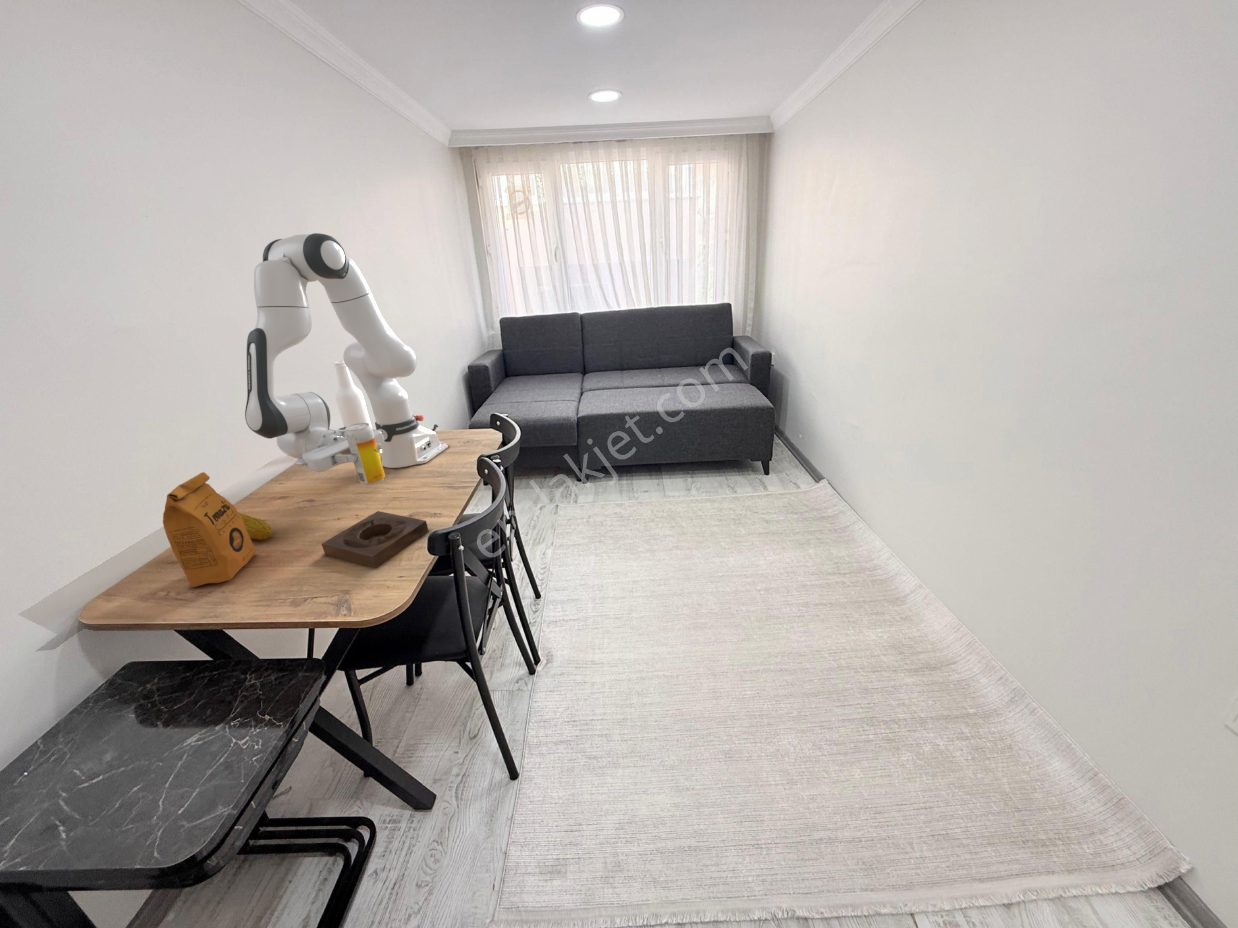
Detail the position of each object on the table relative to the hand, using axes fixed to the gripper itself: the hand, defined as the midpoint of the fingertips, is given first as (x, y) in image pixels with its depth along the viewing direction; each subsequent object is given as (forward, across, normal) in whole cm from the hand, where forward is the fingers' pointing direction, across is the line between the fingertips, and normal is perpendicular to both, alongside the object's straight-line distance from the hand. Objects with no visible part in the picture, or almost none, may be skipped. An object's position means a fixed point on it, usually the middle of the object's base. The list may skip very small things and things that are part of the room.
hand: (367, 452), depth 124 cm
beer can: (-1, 0, +8) cm, 8 cm away
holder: (+11, -12, +17) cm, 23 cm away
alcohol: (-53, +39, +18) cm, 68 cm away
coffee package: (-13, -32, +17) cm, 39 cm away
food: (-26, -20, +17) cm, 37 cm away
